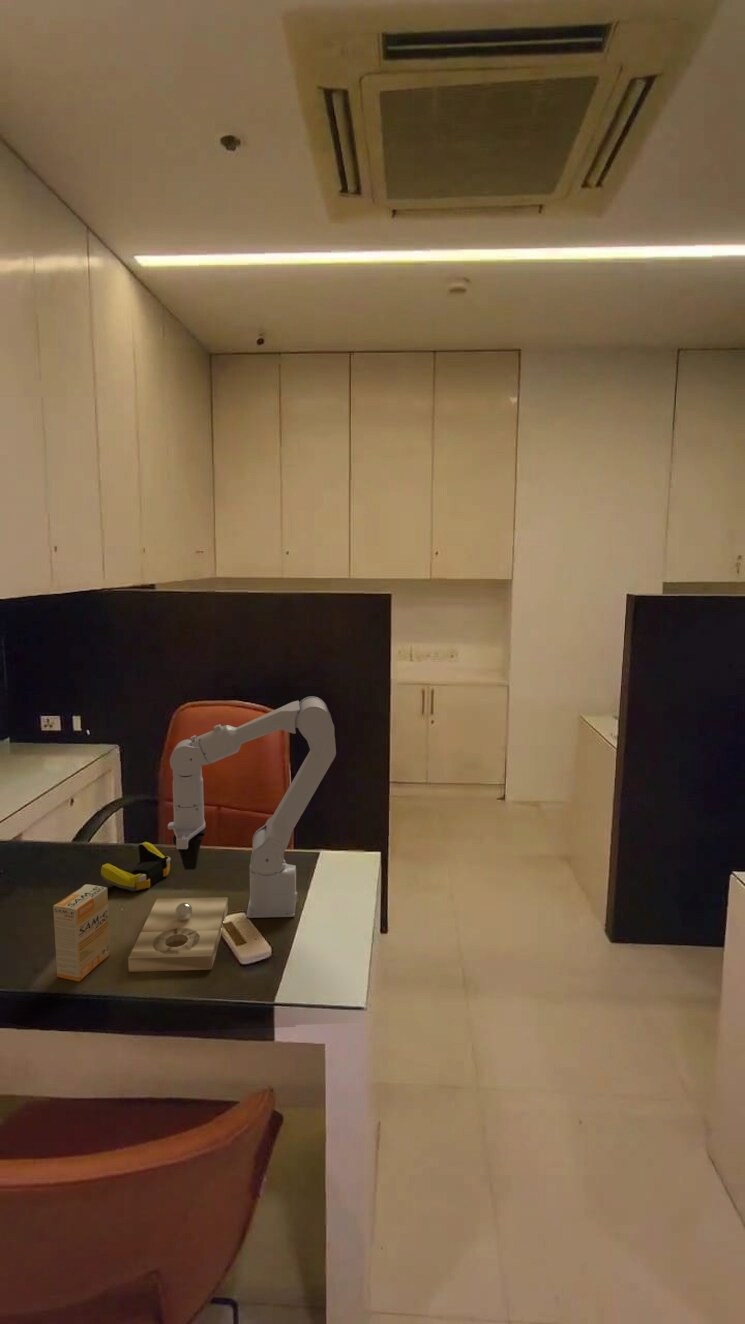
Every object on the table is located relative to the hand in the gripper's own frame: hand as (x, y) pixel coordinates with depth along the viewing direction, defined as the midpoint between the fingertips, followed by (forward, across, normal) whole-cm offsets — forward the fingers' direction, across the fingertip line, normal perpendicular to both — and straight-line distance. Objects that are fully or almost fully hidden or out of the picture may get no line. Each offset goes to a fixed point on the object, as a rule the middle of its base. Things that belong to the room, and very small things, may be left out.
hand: (190, 868), depth 133 cm
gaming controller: (+10, -14, -14) cm, 22 cm away
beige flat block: (+9, +9, 0) cm, 13 cm away
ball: (+5, +7, 0) cm, 9 cm away
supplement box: (+10, +17, -15) cm, 25 cm away
